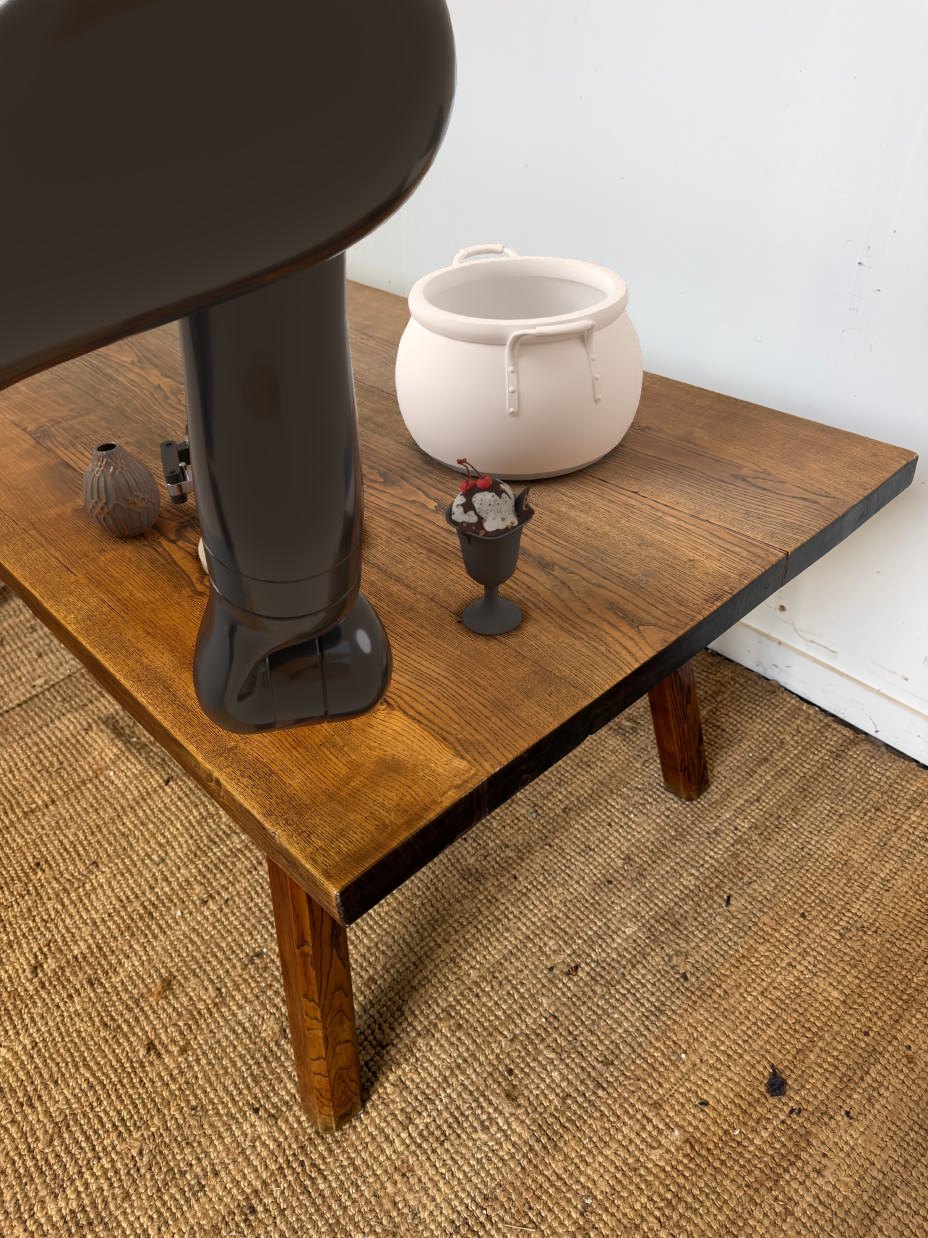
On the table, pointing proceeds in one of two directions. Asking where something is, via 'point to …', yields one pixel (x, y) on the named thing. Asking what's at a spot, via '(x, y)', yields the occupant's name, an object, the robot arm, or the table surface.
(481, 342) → the pot
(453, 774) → the table surface
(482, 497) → the sundae
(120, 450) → the vase
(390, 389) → the table surface
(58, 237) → the robot arm
